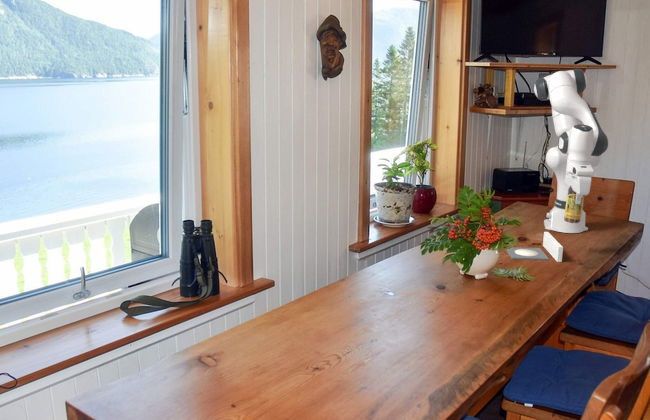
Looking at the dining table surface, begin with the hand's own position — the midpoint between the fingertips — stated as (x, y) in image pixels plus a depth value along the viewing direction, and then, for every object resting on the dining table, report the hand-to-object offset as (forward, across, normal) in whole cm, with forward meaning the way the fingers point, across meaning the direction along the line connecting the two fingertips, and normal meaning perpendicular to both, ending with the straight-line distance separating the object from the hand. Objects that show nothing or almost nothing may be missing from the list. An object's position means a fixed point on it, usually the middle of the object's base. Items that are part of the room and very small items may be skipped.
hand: (574, 201), depth 245 cm
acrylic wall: (+21, +3, -7) cm, 23 cm away
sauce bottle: (+9, 0, 0) cm, 9 cm away
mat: (+21, +5, -18) cm, 28 cm away
